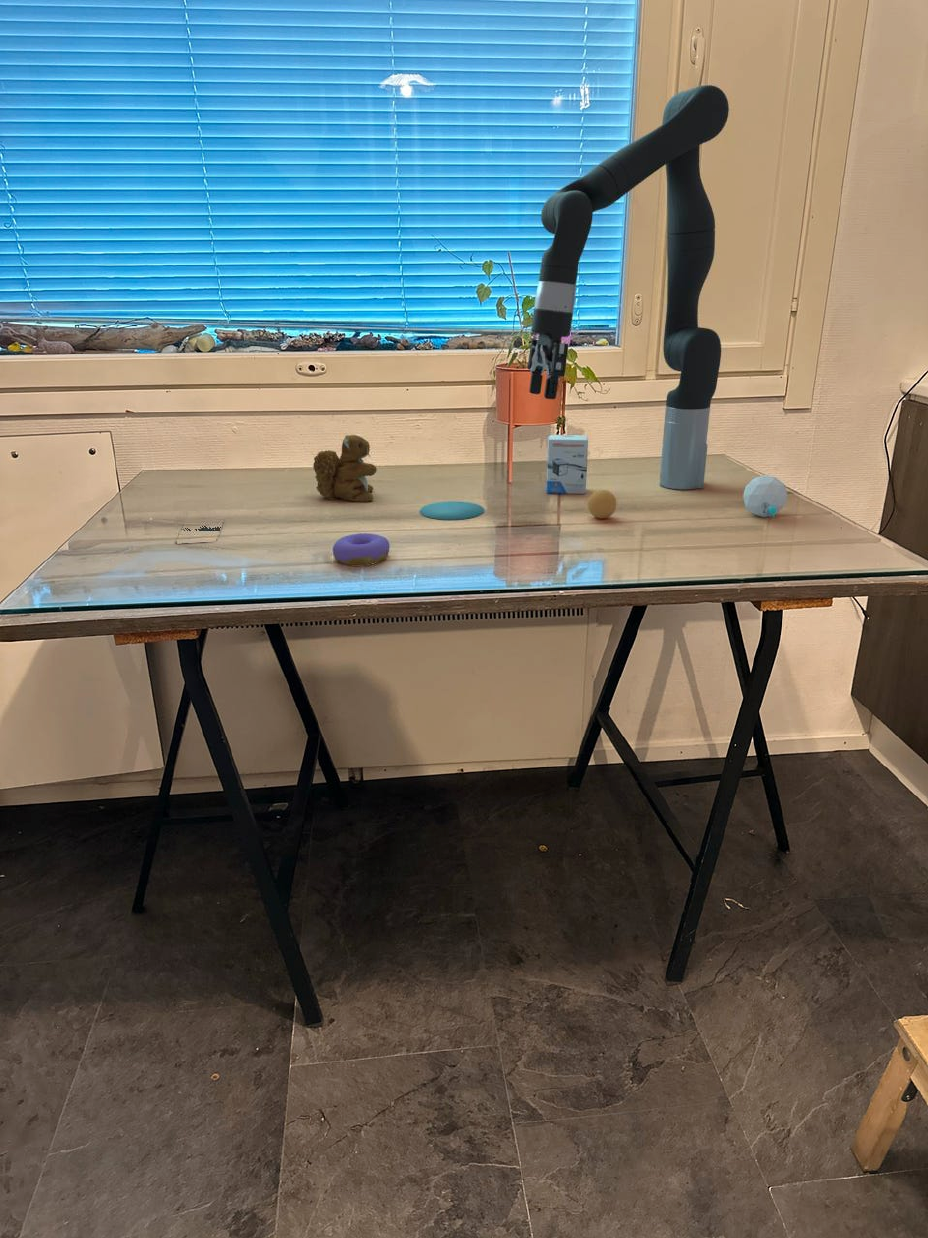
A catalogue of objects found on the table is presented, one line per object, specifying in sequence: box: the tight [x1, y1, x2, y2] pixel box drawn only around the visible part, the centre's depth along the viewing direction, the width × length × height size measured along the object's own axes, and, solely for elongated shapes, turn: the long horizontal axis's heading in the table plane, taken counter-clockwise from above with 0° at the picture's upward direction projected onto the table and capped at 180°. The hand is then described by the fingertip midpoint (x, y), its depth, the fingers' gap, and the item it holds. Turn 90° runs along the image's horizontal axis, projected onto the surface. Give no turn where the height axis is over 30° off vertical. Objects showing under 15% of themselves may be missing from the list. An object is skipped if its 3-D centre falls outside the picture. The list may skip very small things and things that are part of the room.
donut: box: [332, 532, 391, 566], centre depth 138 cm, size 10×9×5 cm
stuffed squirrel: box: [312, 434, 378, 503], centre depth 174 cm, size 10×14×13 cm
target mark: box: [419, 500, 485, 521], centre depth 165 cm, size 13×13×1 cm
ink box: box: [545, 434, 589, 495], centre depth 176 cm, size 9×5×12 cm, turn 84°
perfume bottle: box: [743, 474, 788, 519], centre depth 156 cm, size 8×8×12 cm
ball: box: [587, 489, 617, 520], centre depth 158 cm, size 6×6×6 cm
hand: (541, 396), depth 160 cm, fingers open, 8 cm apart
